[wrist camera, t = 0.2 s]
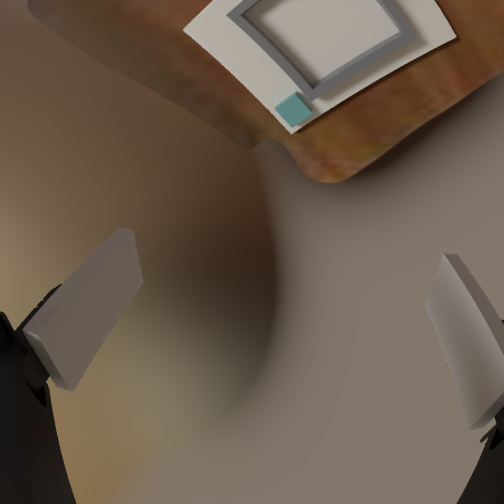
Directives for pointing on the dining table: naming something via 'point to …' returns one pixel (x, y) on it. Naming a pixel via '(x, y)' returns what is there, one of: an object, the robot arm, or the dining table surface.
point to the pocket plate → (315, 47)
